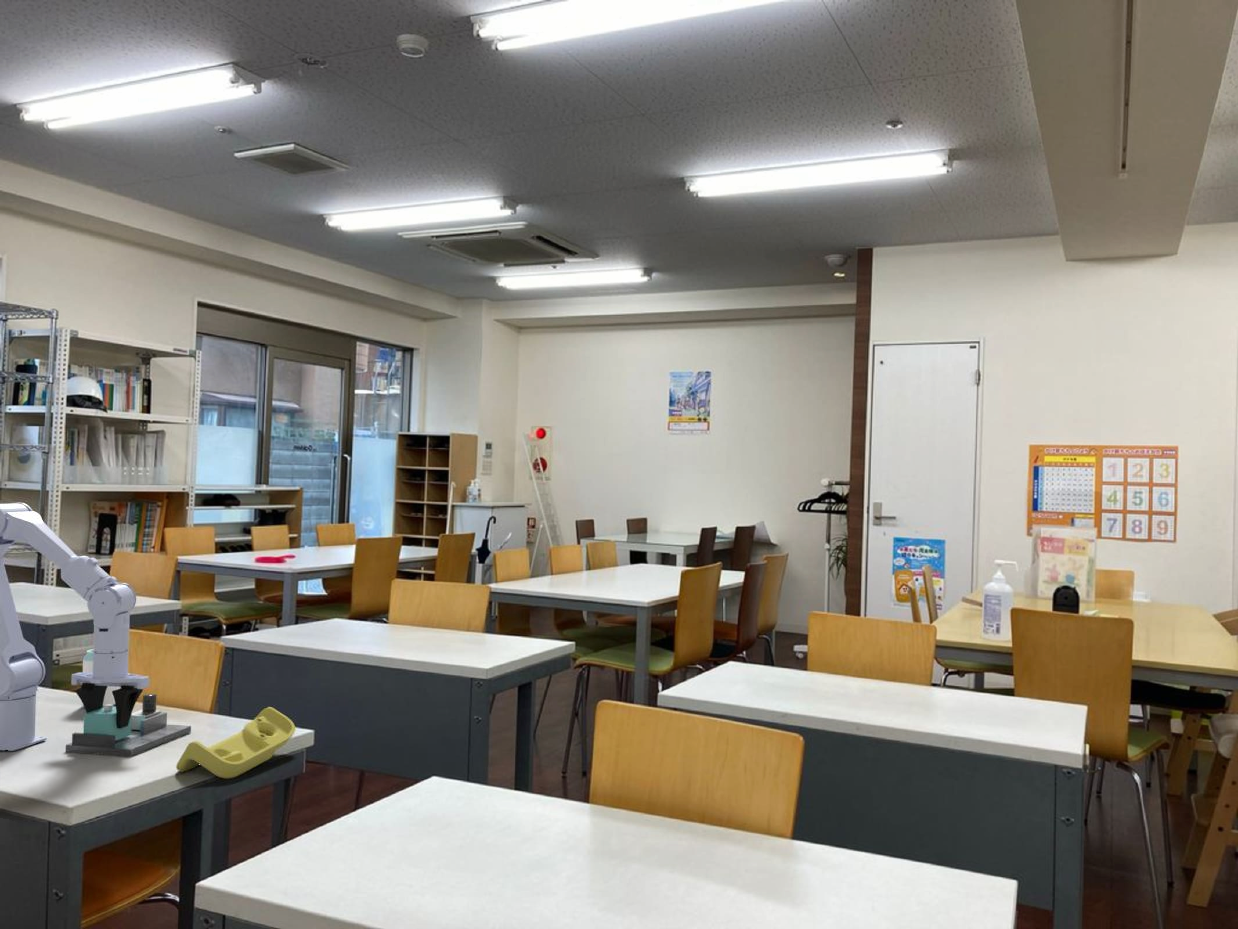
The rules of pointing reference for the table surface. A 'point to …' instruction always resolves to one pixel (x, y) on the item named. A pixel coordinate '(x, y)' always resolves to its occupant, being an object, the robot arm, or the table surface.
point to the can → (89, 669)
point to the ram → (145, 711)
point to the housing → (105, 723)
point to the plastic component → (241, 746)
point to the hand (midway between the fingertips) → (108, 726)
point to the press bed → (129, 738)
